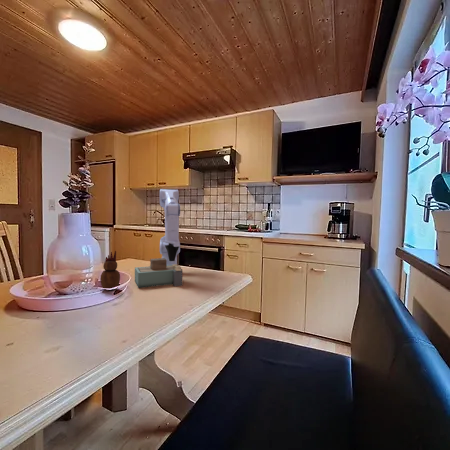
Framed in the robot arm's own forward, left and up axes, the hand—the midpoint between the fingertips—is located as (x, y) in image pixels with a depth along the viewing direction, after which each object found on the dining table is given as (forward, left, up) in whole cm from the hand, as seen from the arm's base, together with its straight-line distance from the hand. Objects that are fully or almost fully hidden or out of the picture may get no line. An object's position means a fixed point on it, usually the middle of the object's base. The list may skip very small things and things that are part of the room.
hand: (171, 260), depth 116 cm
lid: (+2, -6, -4) cm, 8 cm away
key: (+8, 0, -2) cm, 8 cm away
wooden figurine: (+6, -25, -9) cm, 28 cm away
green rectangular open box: (+4, -6, -8) cm, 11 cm away
